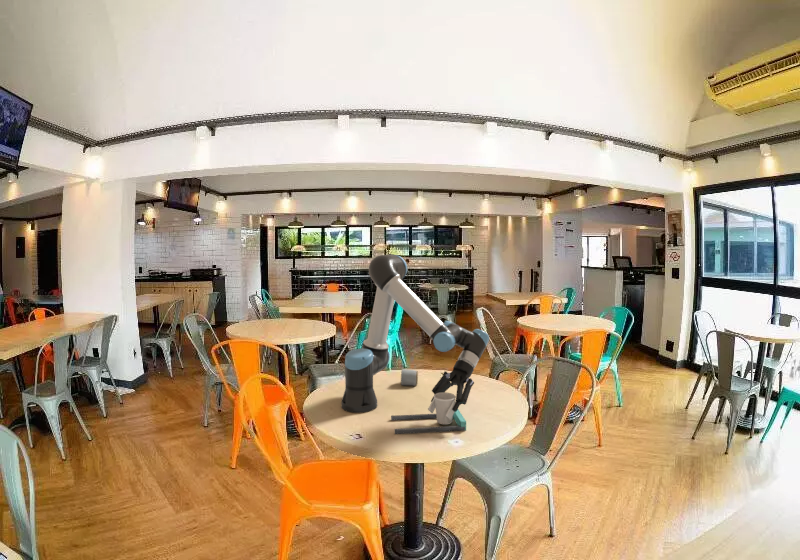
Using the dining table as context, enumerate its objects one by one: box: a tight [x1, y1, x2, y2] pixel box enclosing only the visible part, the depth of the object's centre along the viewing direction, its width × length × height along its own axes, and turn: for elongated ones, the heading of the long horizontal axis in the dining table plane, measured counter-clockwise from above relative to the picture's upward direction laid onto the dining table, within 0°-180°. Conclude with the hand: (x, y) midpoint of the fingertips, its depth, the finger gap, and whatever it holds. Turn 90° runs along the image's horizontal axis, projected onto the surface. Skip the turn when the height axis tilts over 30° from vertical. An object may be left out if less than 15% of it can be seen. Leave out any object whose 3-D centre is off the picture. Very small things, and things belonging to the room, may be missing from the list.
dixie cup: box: [433, 391, 456, 425], centre depth 167 cm, size 8×8×10 cm
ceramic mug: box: [400, 368, 419, 386], centre depth 215 cm, size 11×8×8 cm
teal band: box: [452, 408, 467, 432], centre depth 168 cm, size 2×13×4 cm, turn 7°
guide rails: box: [390, 413, 465, 435], centre depth 167 cm, size 26×13×2 cm, turn 97°
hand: (438, 414), depth 165 cm, fingers closed on dixie cup, 8 cm apart
